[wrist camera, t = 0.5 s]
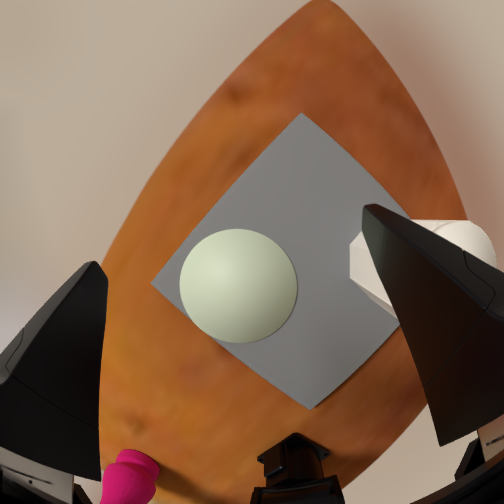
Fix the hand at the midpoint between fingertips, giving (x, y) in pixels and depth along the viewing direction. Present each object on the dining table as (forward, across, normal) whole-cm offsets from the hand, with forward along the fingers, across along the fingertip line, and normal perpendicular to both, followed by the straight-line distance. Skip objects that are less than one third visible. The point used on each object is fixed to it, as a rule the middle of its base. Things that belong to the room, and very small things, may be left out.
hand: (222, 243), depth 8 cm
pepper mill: (-3, +22, +32) cm, 39 cm away
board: (+10, -5, +13) cm, 17 cm away
